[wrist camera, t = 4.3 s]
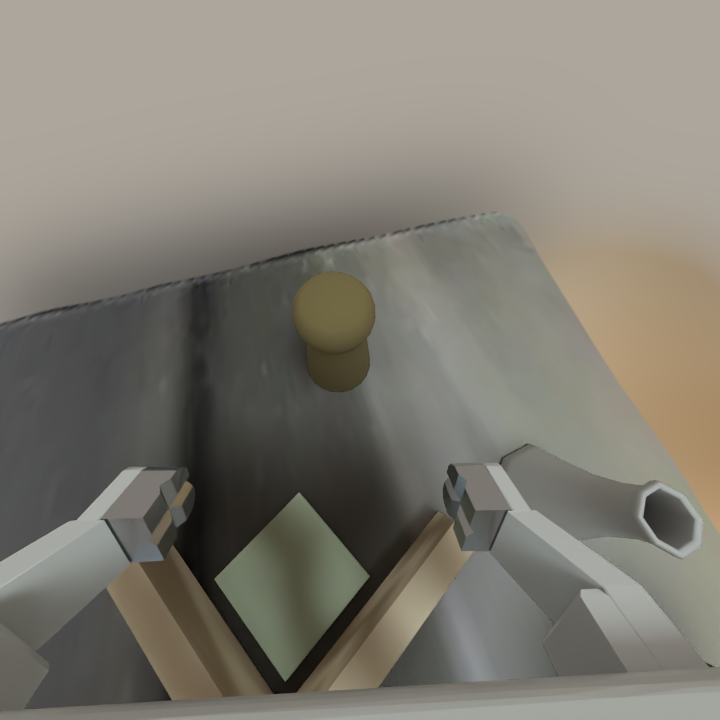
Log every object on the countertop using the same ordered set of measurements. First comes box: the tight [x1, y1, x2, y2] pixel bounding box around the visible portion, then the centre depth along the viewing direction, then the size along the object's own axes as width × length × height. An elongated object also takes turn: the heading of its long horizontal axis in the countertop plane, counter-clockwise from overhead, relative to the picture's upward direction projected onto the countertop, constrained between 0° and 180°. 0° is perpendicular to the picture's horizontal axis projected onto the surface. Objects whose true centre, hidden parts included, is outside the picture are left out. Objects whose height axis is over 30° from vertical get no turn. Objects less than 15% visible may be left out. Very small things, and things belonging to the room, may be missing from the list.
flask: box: [501, 444, 704, 559], centre depth 18 cm, size 7×7×10 cm
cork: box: [292, 272, 375, 392], centre depth 20 cm, size 6×6×11 cm
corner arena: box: [106, 492, 474, 700], centre depth 19 cm, size 18×18×4 cm
